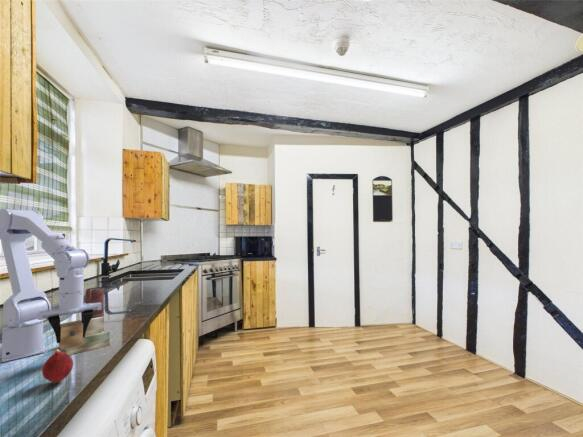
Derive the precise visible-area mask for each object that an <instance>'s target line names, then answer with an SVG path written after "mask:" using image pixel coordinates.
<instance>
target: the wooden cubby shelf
mask: <svg viewBox="0 0 583 437" xmlns="http://www.w3.org/2000/svg"><path fill="white" fill-rule="evenodd" d="M110 333H111V332H110V330H108V331H105V316H104V317H98V318H92V319H91V320H90V322H89V324H88V327H87V330H86V333H85V338H83V345H81V346H77V347H72V348H68V349H64V351H65V352H64V353H66V354H68V355H69V356H71V355H75V354H79V353H83V352H87V351H90V350H95V349H99V348H103V347H107V346H110V345H111V342H110V339H111V338H110V337H111V336H110V335H111V334H110ZM74 353H75V354H74Z"/></svg>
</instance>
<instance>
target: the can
mask: <svg viewBox="0 0 583 437" xmlns="http://www.w3.org/2000/svg"><path fill="white" fill-rule="evenodd" d="M98 302H100V303H101V310H93V312H94V314H93V317H92V318H98V317H104V318H105V289H104V287H103V286H100V287H89V288H87V289H86V290H85V304H89V303H98ZM92 318H91V319H92Z"/></svg>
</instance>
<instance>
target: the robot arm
mask: <svg viewBox="0 0 583 437" xmlns="http://www.w3.org/2000/svg"><path fill="white" fill-rule="evenodd" d="M33 236H34V237H35V238H36V239H37V240H39V241H40V242H41V249H42V250H44V252H46V253H47V254H48V255H49V256H50V258H52V259H53V260H54V261H53V267H54V269H55V271H56V276H57V278H58V307H56V308H55V307H54V308H52V304H51V302H50V300H49V299H48V297H47V294H46V293H45V292H44V291H42V290H39V289H37V288H36V285H35V284H36V283H35V281H34V276H33V272H32V269H31V264H30V260H29V255H28V250H27V248H26V243H25V241H26V240H27V239H29V238H32V237H33ZM0 242H1V247H2V251H3V256H4V261H5V266H6V268H7V274H8V279H9V282H10V287H11V291H12V294H11V295H10V296H9V297H8V298H7V299H6V300H5V301H4V302H3V303H2V305H3V312H2V319H3V321H4V323H5V324H6V325H7V326H5V327H2V331H1V347H0V355H1V363H5V362H9V361H13V360H18V359H22V358H26V357H31V356H36V355H40V354H44V353H46V348H45V343H44V321H46V320H47V321H48V323H49V325H50V326H51V329H52V330H53V332H54V334H55V340H56V343H57V344H59V343H60V324H61V317H62V316H68V315H73V314H74V315H75V314H80V316H81V318H80V320H81V322H82V323H83V338H85V333H86V330H87V327H88V324H89V322H90V320H91V318H92V317H93V314H94V312H93V310H101V303H100V302H98V303H89V304H86V303H84V288H85V286H84V285H85V284H84V282H85V281H84V279H85V278H84V276H85V275H84V274H85V270H84V269H85V268H87V266H88V265H89V262H90V258H89V254H88V253H87V251H86V249H83V248H81V249H80V248H76V247H74V245H73V244H72V243H71V242H69V241H68V240H67V238H66V237H65V236H64V235H63V234H58V233H57V234H54V232H53V231H52V230H51V229H50V228H49V226H48V225H46V223H45V222H44V215H42V214H41V212H40V211H38V210H35V209H32V210H27V209H25V210H24V209H7V208H0Z"/></svg>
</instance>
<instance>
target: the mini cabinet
mask: <svg viewBox="0 0 583 437" xmlns="http://www.w3.org/2000/svg"><path fill="white" fill-rule="evenodd" d="M81 345H83V323H82V322H81V319H78V320H74V321H69V322H61V323H60V343H58V347H59V350H60V351H62V350H63V351H65V349H68V348H72V347H77V346H81Z"/></svg>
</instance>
